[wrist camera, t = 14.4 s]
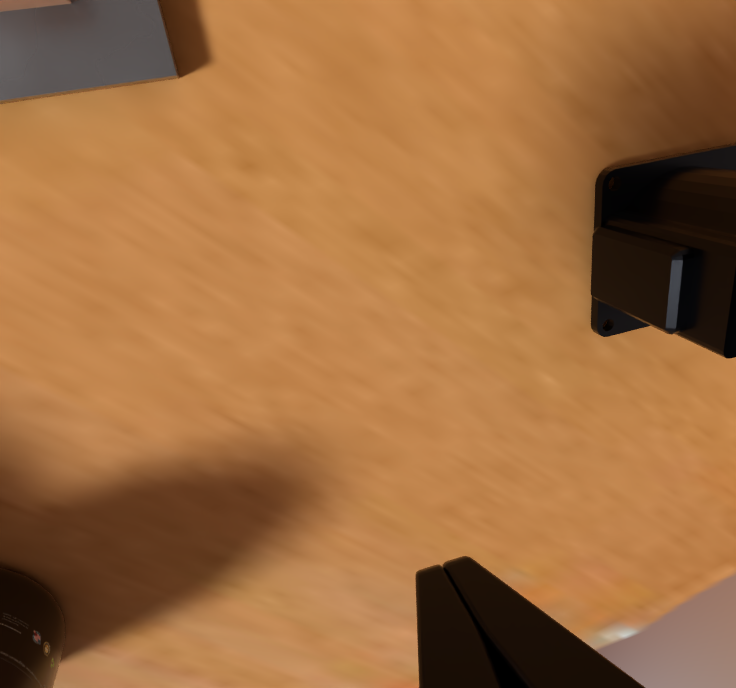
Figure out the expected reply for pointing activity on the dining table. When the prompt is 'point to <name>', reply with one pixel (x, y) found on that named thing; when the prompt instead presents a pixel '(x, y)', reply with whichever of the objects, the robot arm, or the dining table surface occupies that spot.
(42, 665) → the supplement bottle
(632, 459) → the dining table surface
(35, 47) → the base with metal peg
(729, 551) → the dining table surface
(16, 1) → the square ring with tab
